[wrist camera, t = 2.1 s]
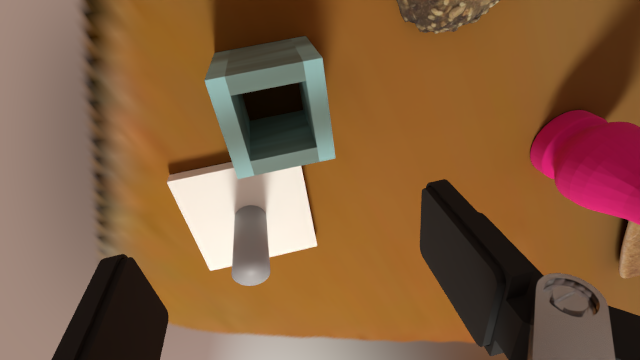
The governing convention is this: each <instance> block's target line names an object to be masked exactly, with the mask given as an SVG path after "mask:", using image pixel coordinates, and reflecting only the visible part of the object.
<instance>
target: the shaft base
mask: <svg viewBox="0 0 640 360" xmlns="http://www.w3.org/2000/svg"><path fill="white" fill-rule="evenodd" d="M167 183H168V185H169V188H170V190H171V192H172V194H173V196H174V198H175V200H176V202H177V204H178V206H179V208H180V210H181V212H182V214H183V216H184V218H185V220H186V222H187V224H188V226H189V228H190V230H191V232H192V234H193V237H194V239H195V241H196V243H197V245H198V247H199V249H200V251H201V253H202V255H203V257H204V259H205V261H206V263H207V265H208V267H209V269H210V271H212V270H216V269H221V268H225V267H229V266H232V277H233V279H234V280H235V281H236V282H237V283H239V284H241V285H246V286H252V285H257V284H260V283H262V282H264V281H265V280H266V279H267V278H268V277H269V275H270V261H269V257H272V256H277V255H281V254H285V253H290V252H294V251H298V250H302V249H307V248H311V247H315V246H317V242H316V237H315V232H314V227H313V222H312V217H311V212H310V207H309V202H308V197H307V192H306V187H305V182H304V177H303V172H302V167H301V166H297V167H292V168H288V169H283V170H278V171H274V172H269V173H264V174H260V175H255V176H250V177H246V178H241V179H238V178H237V175H236V172H235V169H234V166H233V163H232V162H228V163H224V164H219V165H214V166H209V167H205V168H200V169H195V170H190V171H186V172H181V173H176V174H171V175H169V177H168V180H167Z"/></svg>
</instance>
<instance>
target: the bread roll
mask: <svg viewBox="0 0 640 360" xmlns="http://www.w3.org/2000/svg"><path fill="white" fill-rule="evenodd" d="M499 1H500V0H397V2H398V4H399V9H400V13H401V15H402V17H403V19H404V21H405V22H408V21H410V22H412V23H415V24H416V26H417V27H418V29H419V30H420V32H424V33H427V32H430V31H433V32H434V33H436V34H437V33H439V32H446V31H453V32H454V31H456V30H457V29H458V27H459V26H462V25H465V24H468V23H474V22H477V21H478V20H479V19H480V16H481V15H482V14H486V13H487V12H488V9H489V8H490V7H492V6H494V5H495V4H496V3H498V2H499Z"/></svg>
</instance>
